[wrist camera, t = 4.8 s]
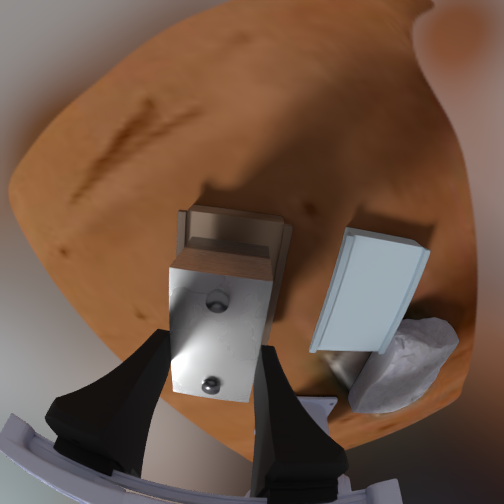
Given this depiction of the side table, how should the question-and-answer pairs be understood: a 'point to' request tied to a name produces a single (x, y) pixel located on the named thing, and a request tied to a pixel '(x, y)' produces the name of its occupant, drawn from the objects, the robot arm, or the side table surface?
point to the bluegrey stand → (368, 291)
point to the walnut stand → (241, 239)
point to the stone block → (403, 366)
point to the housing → (218, 316)
